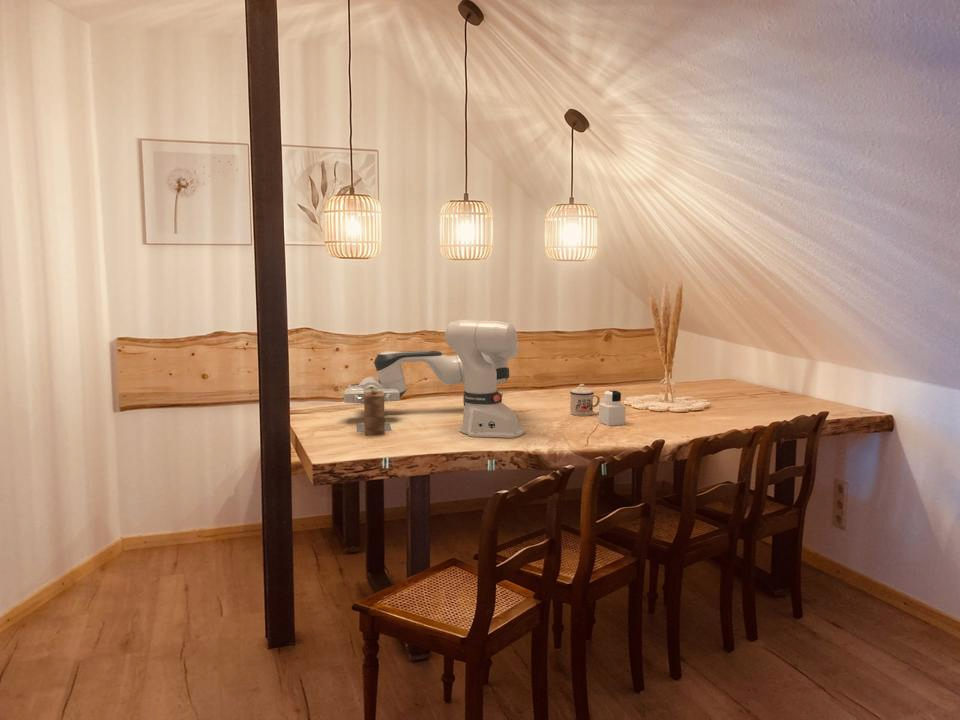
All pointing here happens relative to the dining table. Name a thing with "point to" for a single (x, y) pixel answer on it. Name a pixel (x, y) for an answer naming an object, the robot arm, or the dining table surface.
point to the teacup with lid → (582, 401)
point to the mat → (362, 427)
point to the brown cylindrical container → (374, 413)
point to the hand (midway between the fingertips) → (372, 399)
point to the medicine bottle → (612, 409)
